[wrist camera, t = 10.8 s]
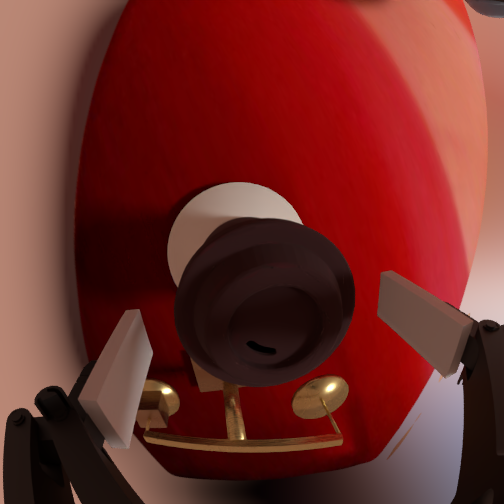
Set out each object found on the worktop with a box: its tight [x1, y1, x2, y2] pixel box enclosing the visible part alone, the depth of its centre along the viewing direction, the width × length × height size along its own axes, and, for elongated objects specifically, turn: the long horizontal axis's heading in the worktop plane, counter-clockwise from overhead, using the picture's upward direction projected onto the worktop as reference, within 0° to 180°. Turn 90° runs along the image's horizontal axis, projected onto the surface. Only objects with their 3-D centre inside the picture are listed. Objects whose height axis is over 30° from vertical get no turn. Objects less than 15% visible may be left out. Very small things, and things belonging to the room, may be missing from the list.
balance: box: [136, 357, 348, 452], centre depth 24 cm, size 6×24×15 cm, turn 96°
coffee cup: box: [174, 217, 355, 387], centre depth 19 cm, size 10×10×15 cm
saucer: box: [167, 182, 303, 287], centre depth 27 cm, size 14×14×1 cm
